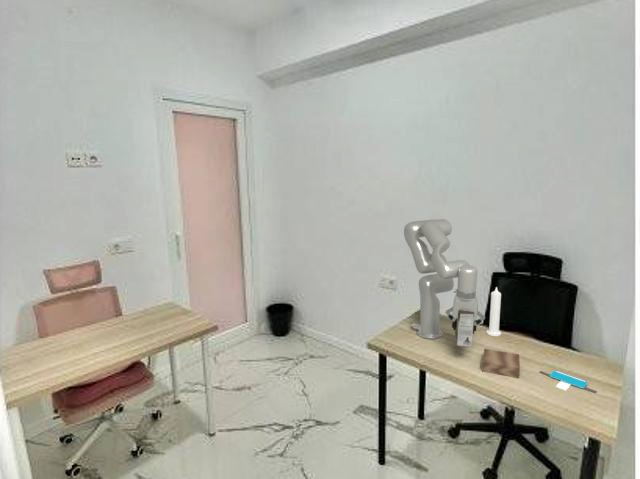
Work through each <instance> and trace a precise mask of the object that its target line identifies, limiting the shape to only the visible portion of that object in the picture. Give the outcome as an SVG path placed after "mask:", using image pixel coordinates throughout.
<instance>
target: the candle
mask: <svg viewBox="0 0 640 479" xmlns="http://www.w3.org/2000/svg"><path fill="white" fill-rule="evenodd" d="M501 299H502V293H501V292H500V291H499V290H498V286H496V287H495V289H494V290H493V291H491V293H490V305H489V306H490V308H489V323H488V324H489V325H488V326H489V327H488V328H489V329H486V330H485V332H486V334H487V335H488V336H490V337H500V336H502V332H501V330H500V318H501V316H500V315H501V301H502V300H501Z"/></svg>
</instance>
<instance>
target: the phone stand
mask: <svg viewBox="0 0 640 479" xmlns="http://www.w3.org/2000/svg"><path fill="white" fill-rule="evenodd" d="M539 374H542V375H545V376H547V377H549V378H550V377H551V379H552V378H553V379H556V380H559V382H558V383H557V384H556V386H555V388H557V389H559V390H563V391H566V392H567V391H568V389H569V388H570V387H571V385H572V386H575V387H578V388H580V389H582V390H585V391H590V392H592V393H595V394H596V393H597V390H594V389H592V388H589V387H587V385H588V382H587V379H584V378H581V377H579V376H576V375H573V374H569V373H567V372H563V371H561V370H558V369H556V370H553V371H551V373H547V372H545V371H542V370H539Z"/></svg>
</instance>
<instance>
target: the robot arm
mask: <svg viewBox="0 0 640 479" xmlns="http://www.w3.org/2000/svg"><path fill="white" fill-rule="evenodd" d="M452 231H453V227H452V225H451V222H450V221H449V220H447V219H445V218H444V219H443V218H442V219H424V220H416V221H411V222H410V221H409V222H408V223H406V225H404V228H403V234H404V238H405V242H406V244H407V246H408V247H409V250H410V252H411V255H412V257H413V262H414V265H415V267H416V270H417V272H418V273H419V274H428V275H424V276H422V277H420V278H419V280H418V287H419V288H418V290H419V296H420V304H419V306H420V307H419V308H420V310H419V311H420V312H419V318H420V319H419V321H420V322H418V323H414V322H412V324H411V328H412V329H415V330H416V333H417V335H418V336H419V337H420V338H423V339H427V340H436V339H439V338H441V337H442V336H443V331H442V330H441V329H440V315H441V314H440V313H441V312H440V310H441V307H440V306H441V301H440V299H439V298H438V296H437V294H440V293H441V294H442V293H447V292H451V291H452V290H453V293H454V294H455V295H454V298H453V305H452V307H450V308H449V309H447V310H445V312H444V314H446V316H447V317H448V318H449V320H451V328H452V329H453V331H455V329H456V319H458V311H459V310H464V311H469V312H474V325H473V335H474V334H475V332H477V326H478V325H479V324H481V323H482V322H483V321H484V320H485V319H486V316H485V315H484V314H482V312H480V311H479V302H478V297H477V282H478V269H477V267H476V266H474V265H472V264H470V263H469V262H468V261H467V260H465V259H464V260H463V259H458V260H449V261H448V260H447V258H446V256H445V255H443V253H445V252H446V251H447V250H448V249H449V248H450V246H451V241H450V239H449V238H448V237H447V236H449V235H451V234H452ZM421 238H425V240H426V241H427V242H428V243H429V245H430V247H431V249H432V252H431V253H430V251H429V248H428V244H426V243H425V242H424V241H423V240H422V239H421ZM432 273H434V274H432ZM455 278H457V288H456V289H454V286H455V283H454V282H455V280H454V279H455ZM478 317H479V318H478Z"/></svg>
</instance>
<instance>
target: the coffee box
mask: <svg viewBox="0 0 640 479" xmlns="http://www.w3.org/2000/svg"><path fill="white" fill-rule="evenodd" d="M473 325H474V312H469V311H464V310H459V311H458V319H456V329H455V330H454V337H455V341H456V346H461V347H472V346H473V335H474V334H473Z"/></svg>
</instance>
